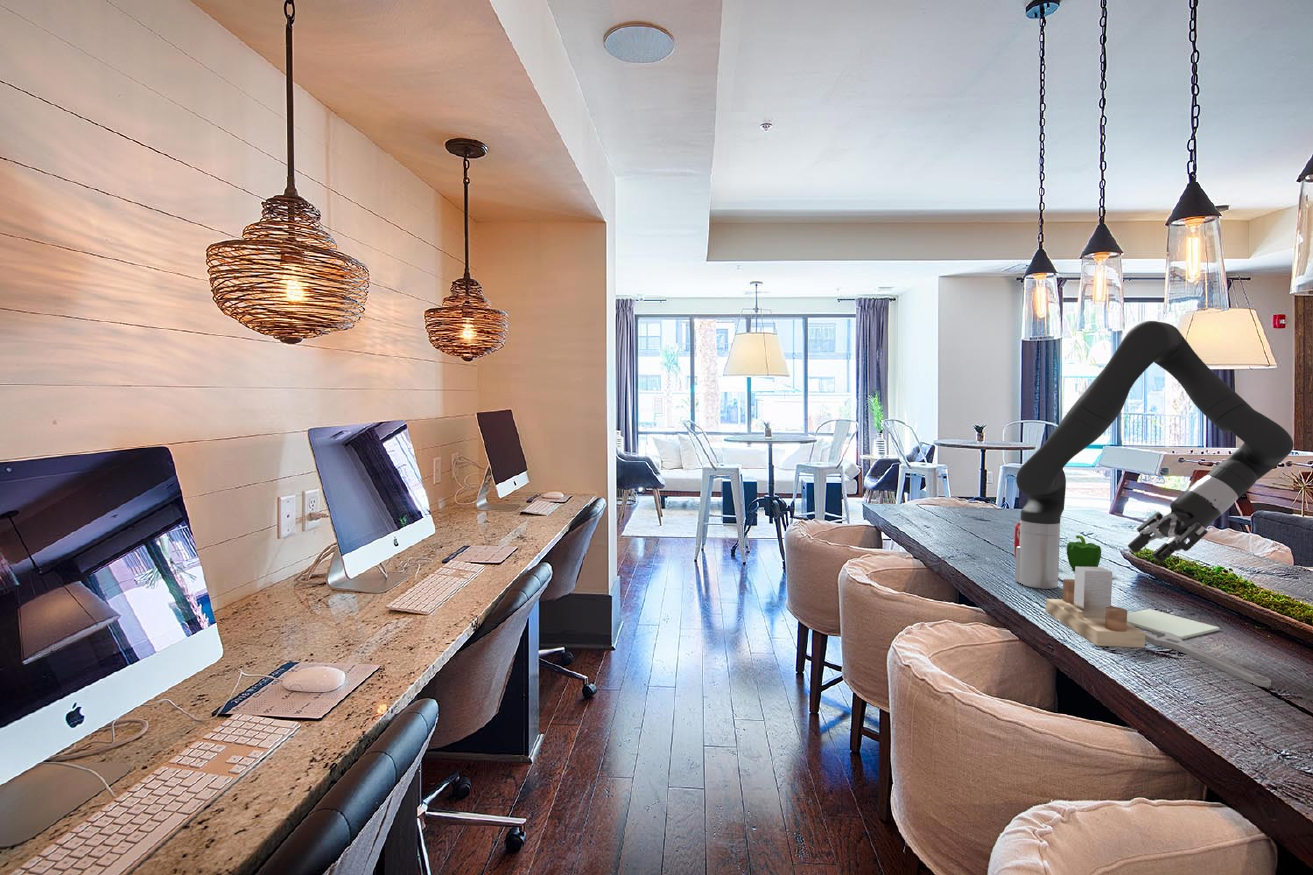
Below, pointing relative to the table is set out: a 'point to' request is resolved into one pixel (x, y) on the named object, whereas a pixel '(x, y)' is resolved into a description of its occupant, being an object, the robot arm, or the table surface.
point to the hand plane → (1095, 621)
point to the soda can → (1017, 537)
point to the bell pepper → (1083, 553)
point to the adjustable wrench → (1205, 657)
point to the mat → (1168, 623)
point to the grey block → (1092, 590)
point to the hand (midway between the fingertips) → (1143, 554)
